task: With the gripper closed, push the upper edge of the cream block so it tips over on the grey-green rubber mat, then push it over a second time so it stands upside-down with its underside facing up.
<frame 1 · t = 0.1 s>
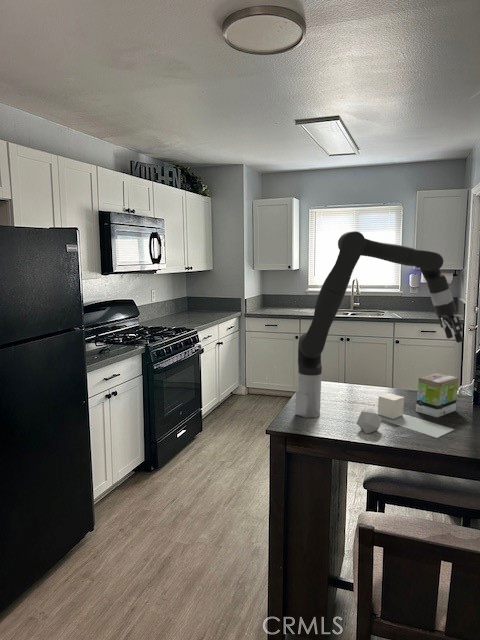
hand: (454, 339, 183), 31 cm above the table, tool tilted 20°, fingers open, 8 cm apart
die: (368, 431, 170), on the table
tea box: (435, 412, 193), on the table
cream block: (390, 415, 186), resting on mat
mat: (410, 423, 179), on the table
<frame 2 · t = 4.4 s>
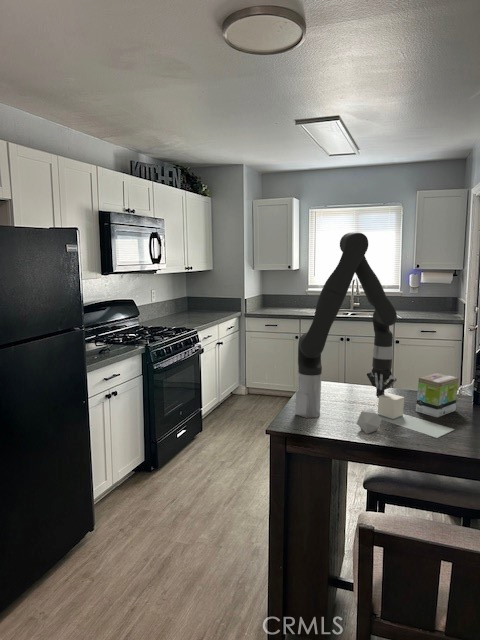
hand: (380, 397, 189), 6 cm above the table, tool pointing down, fingers closed
cream block: (390, 415, 186), resting on mat, touching gripper
everything else where it was.
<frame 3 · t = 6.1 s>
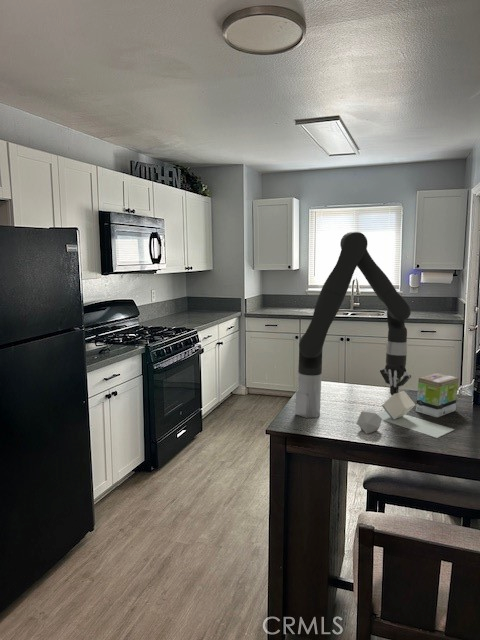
hand: (394, 395, 184), 9 cm above the table, tool pointing down, fingers closed
cream block: (392, 411, 185), point 3 cm above the table, tilted 40°, touching gripper, mat
everything else where it was.
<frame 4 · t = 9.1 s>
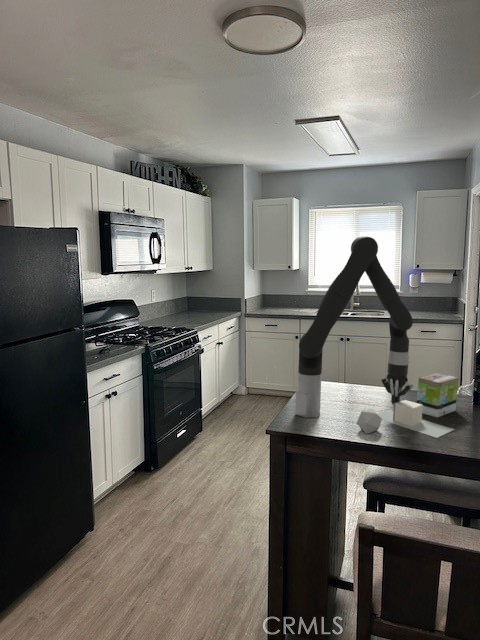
hand: (395, 404, 184), 5 cm above the table, tool pointing down, fingers closed
cream block: (398, 409, 183), point 4 cm above the table, tilted 90°, touching gripper, mat
everything else where it was.
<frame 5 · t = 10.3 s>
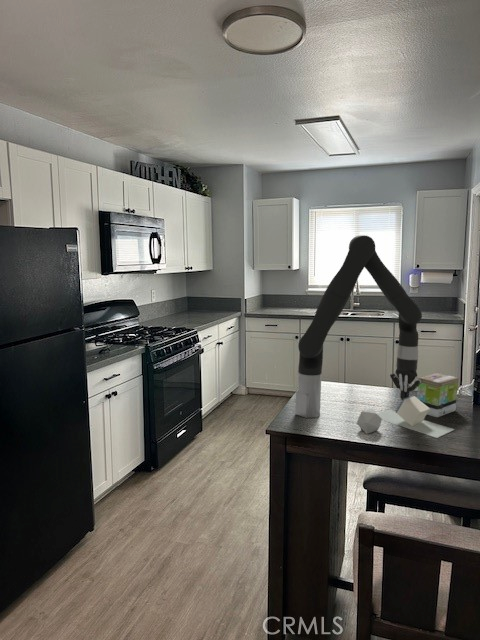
hand: (404, 400, 181), 8 cm above the table, tool pointing down, fingers closed
cream block: (404, 403, 181), point 7 cm above the table, tilted 116°, touching gripper, mat
everything else where it was.
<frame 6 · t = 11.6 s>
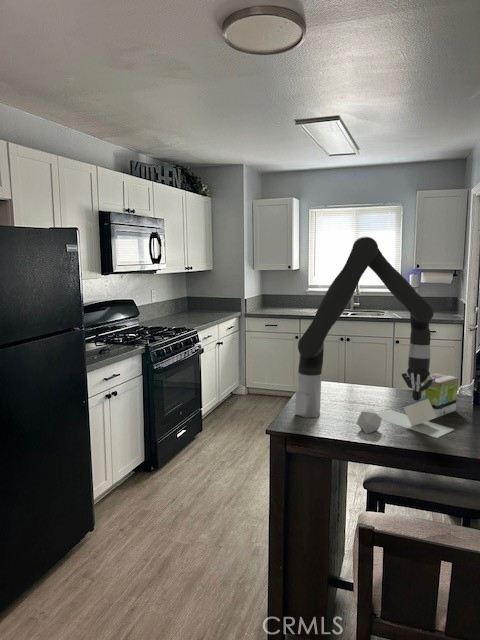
hand: (416, 399, 177), 10 cm above the table, tool pointing down, fingers closed
cream block: (415, 401, 177), point 9 cm above the table, tilted 148°, touching gripper, mat
everything else where it was.
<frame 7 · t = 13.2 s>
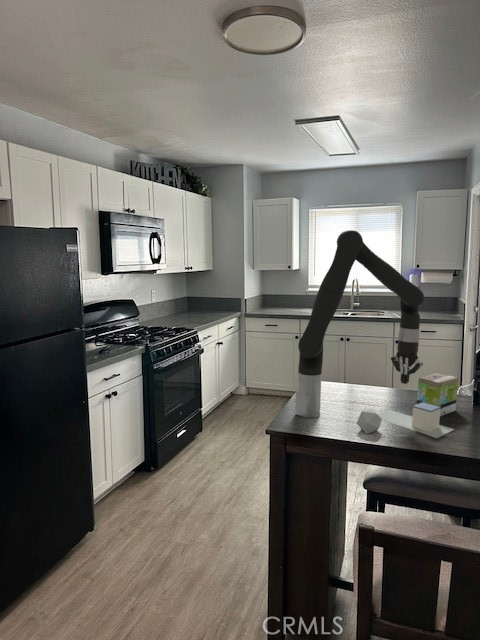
hand: (404, 383, 180), 15 cm above the table, tool pointing down, fingers closed
cream block: (426, 406, 173), point 8 cm above the table, tilted 180°, touching mat
everything else where it was.
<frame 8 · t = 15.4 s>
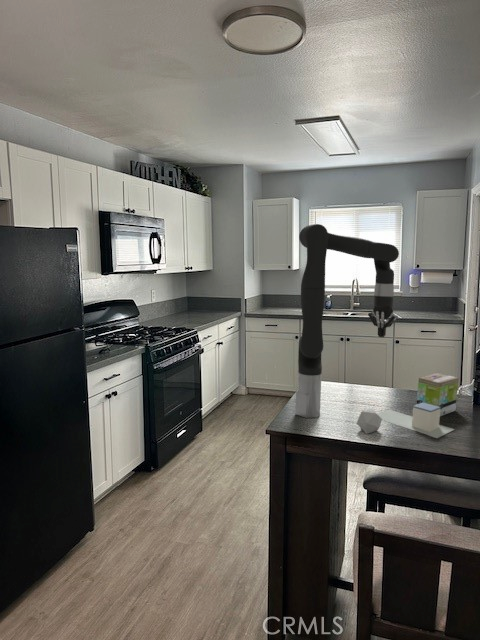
hand: (381, 336, 190), 31 cm above the table, tool pointing down, fingers closed
nothing on the table moved.
at the end: cream block tilted 180°; cream block inside the target area (1.5 cm from its centre), point 8.3 cm above the table; cream block moved 17.0 cm from its start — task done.
